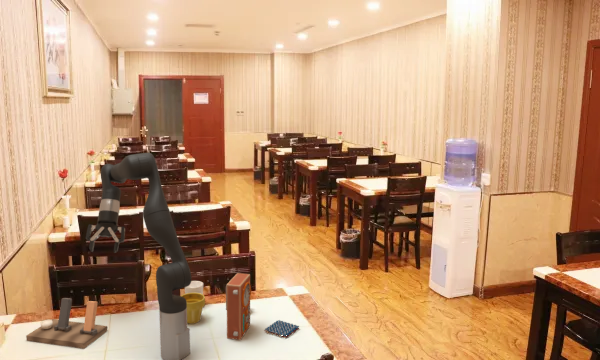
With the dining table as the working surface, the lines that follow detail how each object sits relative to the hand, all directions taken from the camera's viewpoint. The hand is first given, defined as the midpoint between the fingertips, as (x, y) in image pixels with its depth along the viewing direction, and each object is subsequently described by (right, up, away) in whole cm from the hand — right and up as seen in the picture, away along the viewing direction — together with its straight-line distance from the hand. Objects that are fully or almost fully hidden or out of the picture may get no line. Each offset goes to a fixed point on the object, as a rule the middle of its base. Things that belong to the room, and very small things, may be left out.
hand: (103, 251), depth 194 cm
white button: (-19, -28, -7) cm, 34 cm away
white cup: (+32, -27, +20) cm, 46 cm away
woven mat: (+70, -31, -1) cm, 77 cm away
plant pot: (+34, -29, +6) cm, 45 cm away
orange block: (-1, -28, -11) cm, 30 cm away
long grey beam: (-12, -27, -8) cm, 31 cm away
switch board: (-10, -30, -8) cm, 33 cm away
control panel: (+54, -31, -3) cm, 62 cm away
